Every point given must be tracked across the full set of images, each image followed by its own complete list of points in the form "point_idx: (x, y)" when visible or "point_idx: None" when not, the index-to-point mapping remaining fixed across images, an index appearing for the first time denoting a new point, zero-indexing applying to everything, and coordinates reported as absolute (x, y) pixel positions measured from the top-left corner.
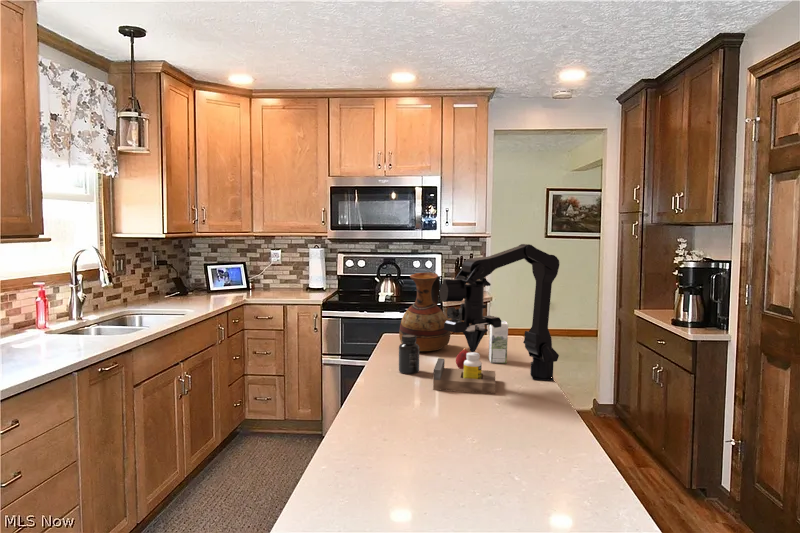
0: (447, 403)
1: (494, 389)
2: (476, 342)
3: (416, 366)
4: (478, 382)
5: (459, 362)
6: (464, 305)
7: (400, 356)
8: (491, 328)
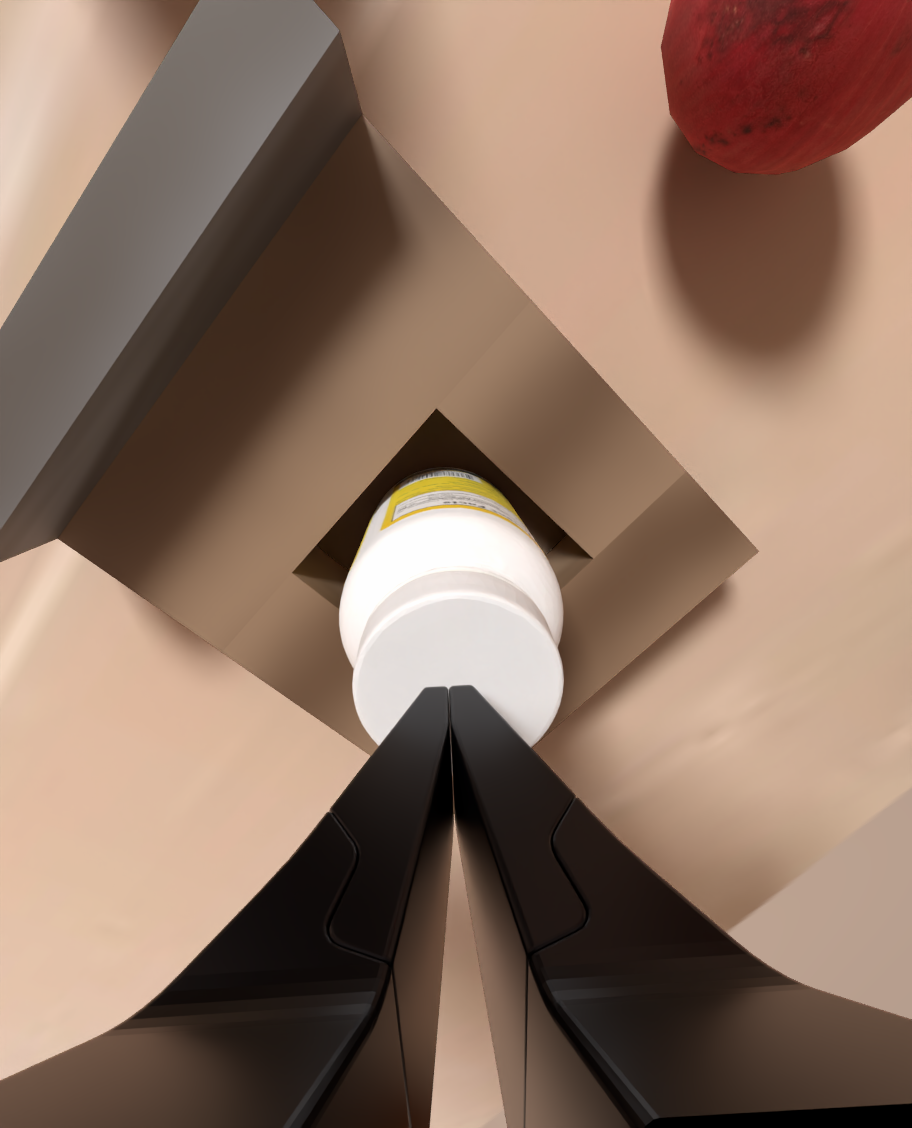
0: (40, 759)
1: None
2: (477, 951)
3: None
4: (356, 741)
5: (677, 48)
6: None
7: None
8: None
